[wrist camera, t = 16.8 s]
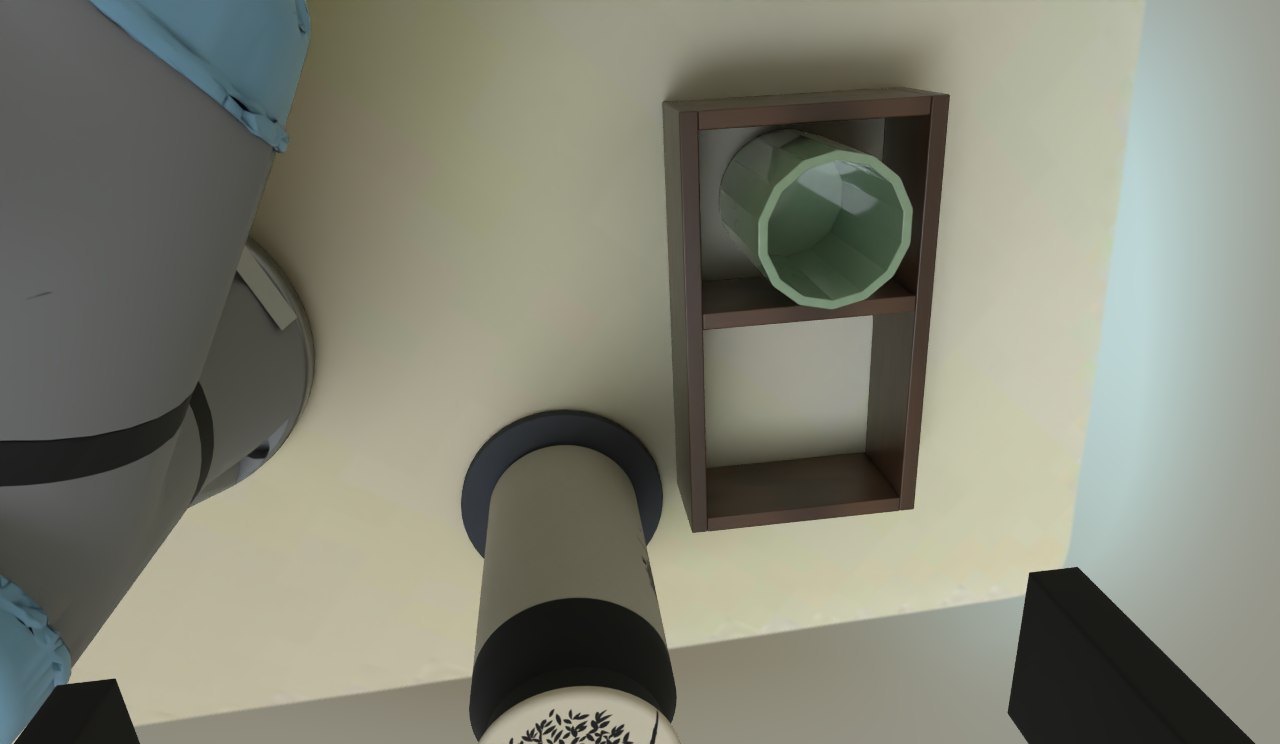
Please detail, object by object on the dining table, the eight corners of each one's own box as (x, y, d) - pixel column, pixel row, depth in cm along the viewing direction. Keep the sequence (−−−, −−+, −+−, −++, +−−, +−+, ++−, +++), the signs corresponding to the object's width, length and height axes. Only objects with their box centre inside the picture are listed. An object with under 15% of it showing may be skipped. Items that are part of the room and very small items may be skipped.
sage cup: (719, 266, 42) (758, 316, 35) (717, 132, 40) (758, 155, 32) (842, 256, 43) (906, 303, 35) (848, 123, 40) (918, 144, 33)
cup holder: (677, 483, 47) (692, 533, 42) (662, 102, 39) (678, 111, 34) (877, 463, 48) (914, 509, 43) (902, 86, 40) (950, 94, 35)
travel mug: (476, 554, 46) (441, 848, 30) (507, 428, 44) (489, 672, 27) (614, 578, 48) (655, 868, 31) (653, 457, 45) (719, 705, 29)
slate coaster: (475, 592, 48) (474, 599, 47) (448, 420, 44) (447, 425, 43) (665, 571, 49) (666, 577, 48) (657, 400, 45) (658, 405, 44)
